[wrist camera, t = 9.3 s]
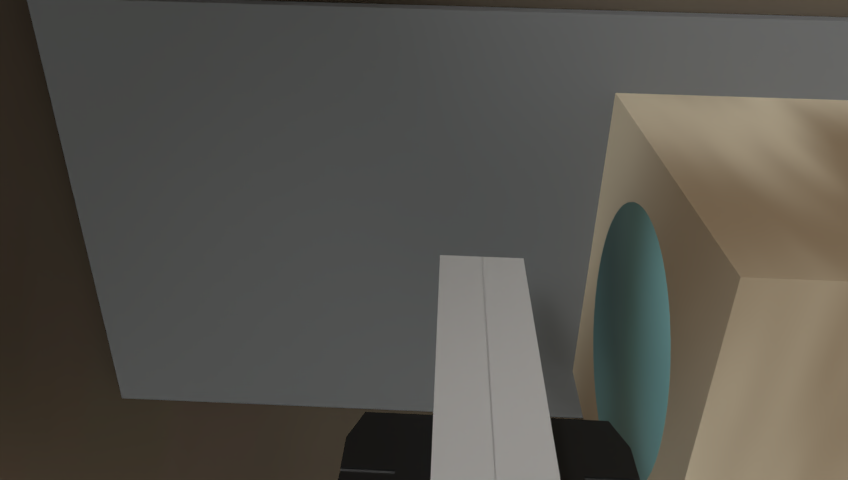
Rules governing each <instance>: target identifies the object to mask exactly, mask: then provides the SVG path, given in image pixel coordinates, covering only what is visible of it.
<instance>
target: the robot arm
mask: <svg viewBox="0 0 848 480" xmlns="http://www.w3.org/2000/svg"><path fill="white" fill-rule="evenodd" d="M338 480H640V478H639V474H638V471H637V468H636V464H635V461H634V458H633V454H632V451H631V448H630V447H629V445H628V444H627V443H626V442H625V440H624V439H623V438H622V437H621V436H620V434H619V433H618V432H617V431H616V430H615V428H614V427H613V426H612V425H611V423H610V422H609V421H599V420H577V419H555V418H550V414H549V408H548V402H547V396H546V390H545V384H544V378H543V372H542V366H541V360H540V354H539V348H538V342H537V336H536V330H535V324H534V318H533V312H532V306H531V300H530V294H529V288H528V282H527V276H526V270H525V264H524V258H503V257H478V256H453V255H440V267H439V291H438V314H437V338H436V361H435V385H434V409H433V415H419V414H397V413H375V412H365V413H364V415H363V416H362V417H361V419H360V420H359V421H358V422H357V424H356V425H355V426H354V428H353V429H352V430H351V432H350V433H349V434H348V436H347V437H346V442H345V447H344V452H343V458H342V463H341V471H340V473H339V478H338Z"/></svg>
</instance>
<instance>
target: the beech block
mask: <svg viewBox="0 0 848 480" xmlns="http://www.w3.org/2000/svg"><path fill="white" fill-rule="evenodd" d="M573 375H574V380H575V384H576V388H577V393H578V397H579V402H580V406H581V411H582V415H583V419H584V420H599V421H609V422H610V423H611V425H612V426H613V427H614V428H615V430H616V431H617V432H618V433H619V434H620V436H621V437H622V438H623V439H624V440H625V442H626V443H627V444H628V445H629V447H630V448H631V451H632V454H633V458H634V461H635V464H636V468H637V471H638V474H639V478H640V480H848V100H824V99H793V98H761V97H730V96H698V95H667V94H636V93H615V99H614V105H613V112H612V118H611V125H610V131H609V138H608V144H607V151H606V157H605V164H604V170H603V177H602V183H601V190H600V196H599V203H598V209H597V216H596V222H595V229H594V235H593V242H592V248H591V255H590V261H589V268H588V274H587V281H586V287H585V294H584V300H583V307H582V313H581V320H580V326H579V333H578V339H577V346H576V352H575V359H574V365H573Z"/></svg>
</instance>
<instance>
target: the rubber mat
mask: <svg viewBox="0 0 848 480" xmlns="http://www.w3.org/2000/svg"><path fill="white" fill-rule="evenodd" d="M27 3H28V7H29V11H30V15H31V20H32V24H33V28H34V32H35V36H36V41H37V45H38V49H39V53H40V57H41V61H42V66H43V70H44V74H45V78H46V82H47V87H48V91H49V95H50V99H51V103H52V107H53V112H54V116H55V120H56V124H57V128H58V133H59V137H60V141H61V145H62V149H63V153H64V158H65V162H66V166H67V170H68V174H69V179H70V183H71V187H72V191H73V195H74V199H75V204H76V208H77V212H78V216H79V220H80V225H81V229H82V233H83V237H84V241H85V245H86V250H87V254H88V258H89V262H90V266H91V271H92V275H93V279H94V283H95V287H96V291H97V296H98V300H99V304H100V308H101V312H102V317H103V321H104V325H105V329H106V333H107V337H108V342H109V346H110V350H111V354H112V358H113V363H114V367H115V371H116V375H117V379H118V383H119V388H120V392H121V396H122V398H129V399H152V400H175V401H198V402H221V403H244V404H267V405H290V406H313V407H336V408H359V409H382V410H405V411H428V412H433V409H434V385H435V361H436V338H437V314H438V291H439V267H440V255H453V256H478V257H503V258H524V264H525V270H526V276H527V282H528V288H529V294H530V300H531V306H532V312H533V318H534V324H535V330H536V336H537V342H538V348H539V354H540V360H541V366H542V372H543V378H544V384H545V390H546V396H547V402H548V408H549V414H550V417H566V418H583V415H582V411H581V406H580V402H579V397H578V393H577V388H576V384H575V380H574V375H573V365H574V359H575V352H576V346H577V339H578V333H579V326H580V320H581V313H582V307H583V300H584V294H585V287H586V281H587V274H588V268H589V261H590V255H591V248H592V242H593V235H594V229H595V222H596V216H597V209H598V203H599V196H600V190H601V183H602V177H603V170H604V164H605V157H606V151H607V144H608V138H609V131H610V125H611V118H612V112H613V105H614V99H615V93H636V94H667V95H698V96H730V97H761V98H793V99H824V100H848V17H819V16H784V15H749V14H714V13H680V12H645V11H610V10H575V9H540V8H505V7H471V6H436V5H401V4H366V3H331V2H296V1H261V0H27Z"/></svg>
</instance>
